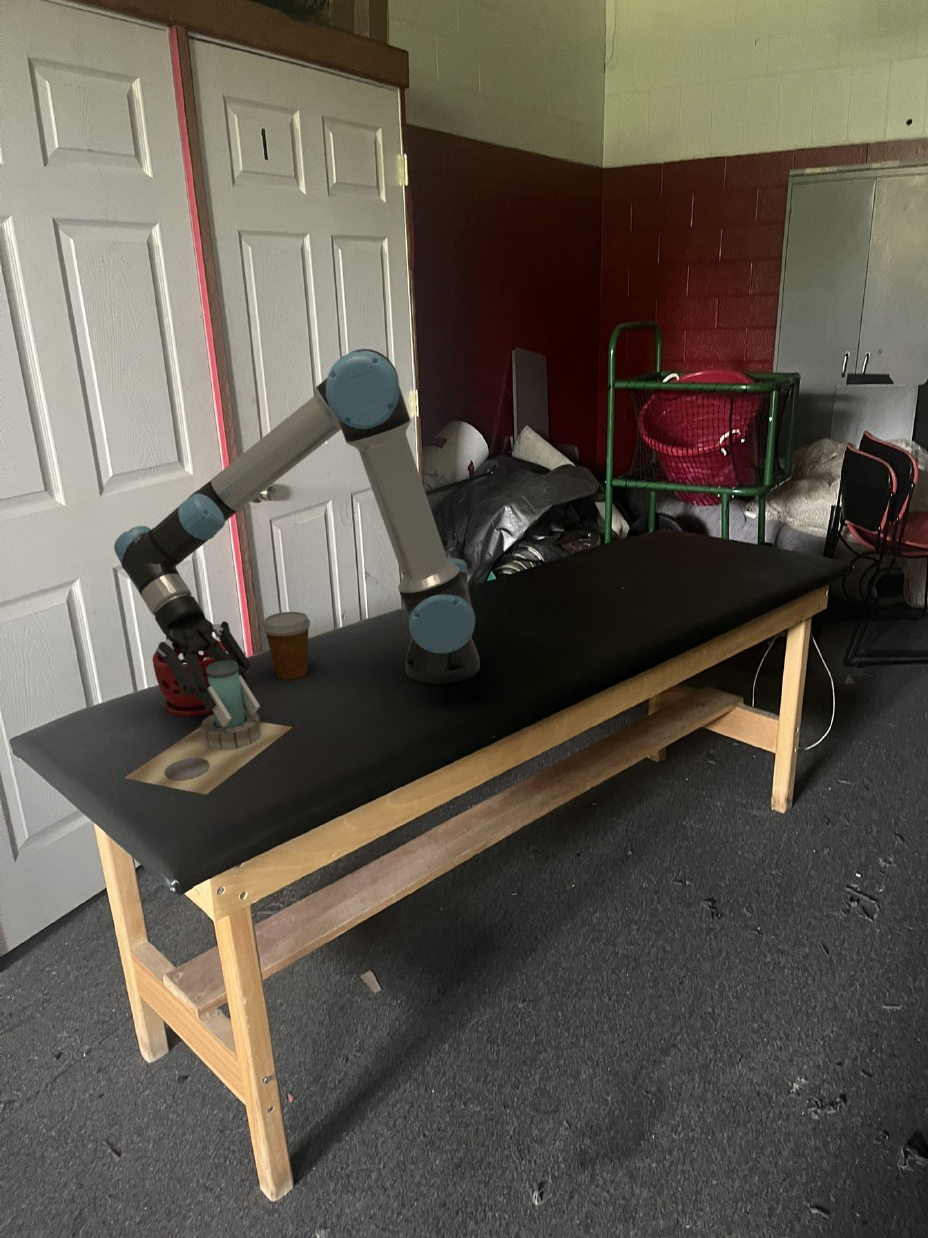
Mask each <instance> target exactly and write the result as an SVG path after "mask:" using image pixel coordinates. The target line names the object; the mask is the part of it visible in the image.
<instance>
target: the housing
mask: <svg viewBox="0 0 928 1238" xmlns="http://www.w3.org/2000/svg"><path fill="white" fill-rule="evenodd" d="M244 714H245V721H246V722H245V723H244V724H242V725H240V726H237V727H234V728H227V729H222V728H216V724H215V718H214V713H213V714H210V715H208V717H206V718H205V719H203V721H201V723H200V724H201V725H200V726H199V727H198V728H196V729H195V730H194V731H192V732H190V733H189V734H187V735H186V736H185V737H183V738H182V739H180V740H178V741H177V742H175V743H174V744H173V745H171V746H170V747H168V748H167V749H165V750H164V751H163V752H160V753H159V754H158V755H157V756H154V757H153V758H152V759H150V760H149V761H147V762H146V763H144V764H142V765H141V766H139V768H137V769H135V770H134V771H132V772H131V773H129V774H128V775H126V776H125V777H124V779H125V780H126V779H127V780H131V781H136V782H142V783H146V784H152V785H156V786H161V787H165V788H171V789H175V790H176V789H177V790H181V791H187V792H191V793H196V794H200V795H205V796H207V795H208V794H209V793H211V792H212V791H213V790H215V788H216V787H218V786H220V785H221V784H222V783H223V782H225V781H226V780H227V779H228V778H229V777H231V776H232V775H234V774H235V773H236V772H237V771H238V770H239V769H241V768H242V767H244V766H245V765H246V764H247V763H249V762H250V761H252V759H254V758H255V757H257V755H259V754H261V753H262V752H263V751H264V750H266V748H268V747H270V745H272V744H274V742H276V741H277V740H278V739H280V738H281V737H282V736H284V735H285V734H287V732H289V731H290V730H291V729H292V728H293V726H289V725H288V726H287V725H281V724H275V723H268V722H262V721H260V715H259V714H258V713H257V712H255V714H252V715H251V714H250V712H249V711H248V709H245V708H244Z"/></svg>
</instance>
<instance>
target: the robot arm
mask: <svg viewBox="0 0 928 1238" xmlns="http://www.w3.org/2000/svg"><path fill="white" fill-rule="evenodd" d="M399 381H400V380H399V375H398V372H397V370H396V367H395V365H394V364H393V363H392V361H391V360H390V359H389V358H388V357H387V356H386V355H385V354H383V353H381V352H379V351H376V350H374V349H370V348H369V349H368V348H362V349H357V350H356V349H355V350H353V351H351V352H349V353H346V354H345V355H342V356H341V357H340V358H339V359H338V360H337V361H336V362H335V363H334V364H333V365H332V366H331V369H330V370H329V372H328V375H327V377H326V378H324V380H323V381H322V382H320V383H319V384H318V385H316V386H315V389H314V395H313V396H312V397H311V398H310V399H309V400H307V401H306V402H304V404H302V405H301V406H300V407H299V408H297V410H295V411H294V412H293V413H292V414H290V415H288V417H286V418H285V419H283V421H281V422H280V423H279V424H278V425H277V426H275V427H274V428H273V429H272V430H270V431H269V432H268V433H267V434H265V435H263V437H262V438H260V439H259V440H258V441H256V443H254V444H253V445H251V447H250V448H248V449H246V450H245V452H243V453H242V454H241V455H239V456H238V457H237V458H236V459H235V460H233V461H232V462H231V463H230V464H228V465H227V466H226V467H225V468H224V469H222V470H221V471H220V472H218V473H217V474H216V475H215V476H214V477H213V478H211V479H210V480H209V481H208V482H206V483H205V484H204V485H203V486H202V487H200V488H198V489H197V490H195V491H194V492H193V493H192V494H190V495H189V496H188V497H187V499H185V500H184V501H182V502H181V503H180V505H178V506H177V507H176V508H175V509H174V510H173V511H171V513H169V514H168V515H167V516H166V517H165V518H164V519H162V520H161V521H160V522H159V523H158V524H156V526H155V527H153V528H152V529H151V528H150V527H148V526H146V525H138V526H134V527H131V528H130V529H129V530H128V531H124V532H122V533H121V534H120V535H119V536H118V537H117V539H116V540H115V542H114V546H113V549H114V552H115V554H116V557H117V558H118V560H119V562H120V565H121V568H122V569H123V570H124V571H125V573H126V574H127V576H128V577H129V579H130V580H131V582H132V583H133V585H134V586H135V589H137V591H138V593H139V595H140V596H141V598H142V600H143V602H144V604H145V605H146V607H147V608H148V610H149V612H150V613H151V615H152V616H153V617H154V620H155V622H156V624H157V625H158V626H159V629H160V630H161V631H162V633H163V634H164V635H165V638H166V639H165V641H160V642H159V644H158V646H157V648H156V651H155V652H156V654H157V655H159V656H160V657H161V658H162V659H163V660H164V661H165V662H166V664H167V666H168V667H169V669H170V671H171V673H172V674H173V676H174V678H175V679H176V681H177V683H178V684H179V686H180V688H181V690H182V691H183V693H184V695H186V696H190V695H194V696H195V697H196V698H200V699H201V701H202V702H203V704H204V705H205V707H206V709H207V710H213V711H212V713H213V714H214V713H215V715H216V717H217V718H218V720H219V722H220V723H221V725H222V726H223V727H224V726H227V724H228V723H229V721H230V720H231V716H230V715H229V713H228V711H227V710H226V708H225V706H224V705H223V703H222V702H221V700H220V698H219V697H218V695H217V693H216V692H215V690H214V689H213V687H212V686H211V687H208V689H207V688H206V687H207V686H206V682H205V679H204V676H203V673H202V669H201V666H200V663H199V660H198V656H197V652H198V651H199V652H203V651H204V652H205V653H206V654H207V655H210V656H211V657H212V658H213V659H214V660H215V661H216V662H218V661H225V660H230V661H235V662H237V663H238V669H239V670H238V673H239V680H240V687H241V694H242V700H243V705H244V706H245V707H246V710H248V711H249V712H250V714H251V715H252V714H255V713H257V711H258V710H259V708H260V707H261V706H260V704H259V702H258V700H257V699H256V697H255V696H254V694H253V691H254V687H253V685H252V683H251V682H250V680H249V679H248V677H247V675H246V674H247V673H248V671H250V669H251V667H252V664H251V662H250V660H249V659H248V657H247V655H245V653H244V651H243V650H242V648H241V647H240V645H239V643H238V641H236V639H235V637H234V636H233V634H232V633H231V630H230V625H229V623H228V622H227V621H225V620H224V621H222V622H221V623H217V624H214V623H212V621H210V620H209V619H207V618H206V616H205V613H204V611H203V609H202V607H201V606H200V605H199V603H198V601H197V600H196V598H195V597H194V596H193V595H192V592H191V590H190V588H189V587H188V585H187V584H186V582H185V581H184V579H183V578H182V576H181V575H180V573H179V571H178V569H177V566H178V565H180V564H181V563H182V562H184V561H185V559H186V558H187V559H188V557H189V556H190V555H191V554H193V553H194V552H196V551H197V550H198V549H199V548H201V547H202V546H203V545H205V543H207V542H208V541H209V540H211V539H213V538H214V537H215V536H216V535H217V534H218V532H219V531H221V530H222V529H223V528H224V526H225V524H226V522H227V521H229V519H230V518H232V517H233V516H234V515H236V513H238V511H240V510H242V508H244V507H245V506H247V504H249V503H250V502H251V501H253V500H254V499H255V498H256V497H258V496H259V495H260V494H262V492H264V491H266V489H268V488H269V487H270V486H271V485H273V484H274V483H275V482H277V481H279V479H280V478H282V477H284V476H285V474H287V473H288V472H289V471H291V470H292V469H293V468H294V467H296V466H297V465H298V464H299V463H301V462H302V461H303V460H305V459H306V458H307V457H308V456H310V455H311V454H313V452H315V451H316V450H317V449H318V448H320V447H321V446H322V445H324V444H325V443H326V442H327V441H329V440H330V439H331V438H332V437H334V436H335V435H336V434H338V433H339V432H340V431H342V432H341V433H342V434H343V435H342V436H343V437H344V440H345V443H346V444H347V445H350V446H352V447H353V448H355V449H356V450H357V451H358V453H359V457H360V458H361V461H362V465H363V467H364V471H365V473H366V476H367V478H368V482H369V484H370V487H371V490H372V492H373V495H374V499H375V501H376V504H377V507H378V510H379V513H380V515H381V518H382V521H383V524H384V526H385V529H386V533H387V535H388V539H389V541H390V543H391V546H392V549H393V553H394V554H395V555H394V556H395V559H396V560H397V563H398V568H399V569H400V573H401V575H402V577H401V580H400V582H399V583H398V585H397V587H398V592H399V594H400V598H401V600H402V603H403V606H404V608H405V611H406V615H407V617H408V629H409V632H410V635H411V637H410V641H409V645H408V649H407V653H406V657H405V659H404V660H405V662H404V665H405V673H406V675H407V676H408V677H409V678H410V679H412V680H415V681H417V682H421V683H425V684H435V685H436V684H451V683H457V682H460V681H466V680H467V679H471V678H472V677H474V676H475V675H477V673H478V672H479V671H480V670H481V669H480V666H481V664H480V655H479V653H478V650H477V647H476V645H475V643H474V639H473V637H472V635H473V633H474V630H475V624H476V614H475V610H474V609H473V605H472V602H471V601H472V600H471V596H470V593H469V583H468V575H469V571H468V566H467V565H468V564H467V563H466V562H465V560H463V559H461V558H450V557H447V554H446V552H445V548H444V545H443V542H442V539H441V536H440V533H439V530H438V527H437V524H436V522H435V521H436V520H435V517H434V515H433V512H432V508H431V506H430V503H429V500H428V497H427V494H426V491H425V487H424V485H423V482H422V479H421V476H420V472H419V470H418V466H417V463H416V461H415V458H414V454H413V451H412V448H411V445H410V442H409V439H408V437H407V430H408V428H409V426H410V424H411V423H412V421H411V418H410V414H409V410H408V408H407V406H406V402H405V399H404V396H403V392H402V389H401V387H400V382H399ZM213 633H214V635H215V637H216V638H218V639H219V640H218V641H220V642H221V643H222V645H223V646H224V648H225V649H226V651H225V650H224V649H223V648H222V647H221V646H220V645H219V644H218V641H217V639H216V638H215V637H214V636H213ZM173 647H174V648H176V649H178V650H180V651H182V653H181V654H182V657H183V658H182V659H184V661H186V663H185V664H187V667H188V670H189V674H190V676H189V674H188V673H187V671H186V669H185V668H184V666H183V664H184V663H183V664H182V663H181V661H180V659H181V658H178V656H177V654H176V653H175V651H174V650H173ZM190 677H191V678H190Z"/></svg>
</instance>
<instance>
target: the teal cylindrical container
mask: <svg viewBox="0 0 928 1238" xmlns="http://www.w3.org/2000/svg"><path fill="white" fill-rule="evenodd" d="M238 670H239V669H238V663H237V662H235V661H230V660H225V661H218V662H214V663H212V664H210V665H208V666H207V667H206V672H207V676H208V681H209V687H211V686H212V687H213V689H214V690H215V692H216V693H217V695H218V697H219V698H220V700H221V702H222V703H223V705H224V706H225V708H226V710H227V711H228V713H229V715H230V716H231V720H230V721H229V723H228V724H227V726H224V727H223V726H222V725H221V723H220V722H219V720H218V718H217V717H216V715H215V713H214V712H213V714H214V718H215V724H216V728H222V729H227V728H234V727H237V726H240V725H242V724H244V723H245V722H246V721H245V714H244V709H245V707H244V703H243V700H242V694H241V687H240V680H239V673H238Z"/></svg>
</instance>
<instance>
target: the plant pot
mask: <svg viewBox="0 0 928 1238" xmlns="http://www.w3.org/2000/svg"><path fill="white" fill-rule="evenodd" d="M216 640H217V639H216ZM217 641H218V644H219V645H220V646H221V647H222V648H223V649H224V650H225V651H226V649H225V648H224V646H223V645H222V643H221V641H220V640H217ZM173 650H174V651H175V653H176V654H177V656H178V658H179V656H180V654H182V651H180V650H178V649H176V648H174V647H173ZM199 652H200V651H198V652H197V656H198V660H199V663H200V666H201V669H202V673H203V676H204V679H205V682H206V686H207V687H206V688H207V689H208V687H209V681H208V676H207V672H206V667H207V666H208V665H210V664H212V663H214V662H216V661H215V660H214V659H213V658H212V657H211V656H210V655H207V654H206V653H205V652H204V651H202V652H203V654H200V653H199ZM226 652H227V651H226ZM206 658H207V659H206ZM179 659H180V661H181V663H182V664H183V666H184V668H185V669H186V671H187V673H188V674H189V670H188V667H187V664H186V661H184V658H182V659H181V658H179ZM152 663H153V664H152V665H153V670H154V673H155V677H156V682H157V684H158V687H159V689H160V691H161V694H163V696H164V697H165V699H166V700H165V703H164V707H165V709H166V711H168V712H169V713H170V714H173V715H175V716H179V717H180V716H182V717H190V716H191V717H195V716H200V715H205V714H208V713H209V714H210V713H211V712H212V713H213V710H207V709H206V707H205V705H204V704H203V702H202V701H201V699H200V698H196V697H195V696H194V695H190V696H186V695H184V693H183V691H182V690H181V688H180V686H179V684H178V683H177V681H176V679H175V678H174V676H173V674H172V673H171V671H170V669H169V667H168V666H167V664H166V662H165V661H164V660H163V659H162V658H161V657H160V656H159V655H157V654H156V651H155V652H154V654H153V655H152ZM189 676H190V674H189ZM190 678H191V677H190Z"/></svg>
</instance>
